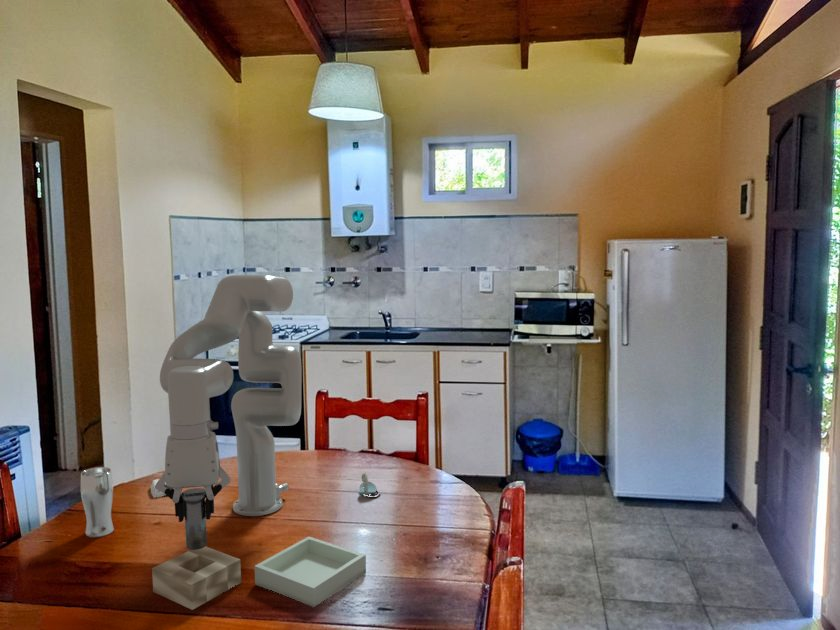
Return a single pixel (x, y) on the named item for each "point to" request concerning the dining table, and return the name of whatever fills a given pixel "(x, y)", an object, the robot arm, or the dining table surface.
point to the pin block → (196, 576)
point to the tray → (310, 570)
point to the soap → (156, 492)
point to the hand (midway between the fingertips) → (195, 517)
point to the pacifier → (366, 486)
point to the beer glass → (97, 500)
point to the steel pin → (195, 518)
